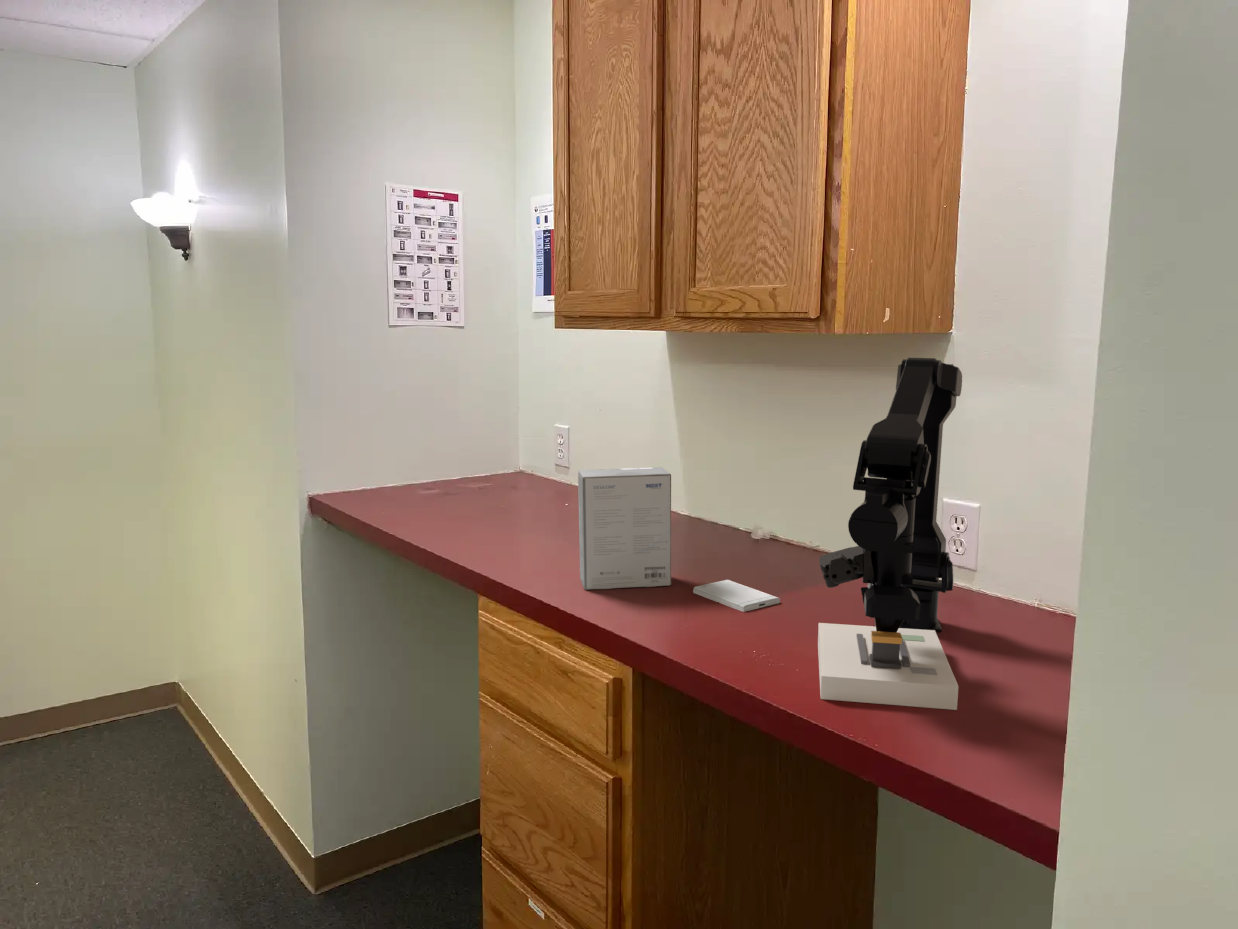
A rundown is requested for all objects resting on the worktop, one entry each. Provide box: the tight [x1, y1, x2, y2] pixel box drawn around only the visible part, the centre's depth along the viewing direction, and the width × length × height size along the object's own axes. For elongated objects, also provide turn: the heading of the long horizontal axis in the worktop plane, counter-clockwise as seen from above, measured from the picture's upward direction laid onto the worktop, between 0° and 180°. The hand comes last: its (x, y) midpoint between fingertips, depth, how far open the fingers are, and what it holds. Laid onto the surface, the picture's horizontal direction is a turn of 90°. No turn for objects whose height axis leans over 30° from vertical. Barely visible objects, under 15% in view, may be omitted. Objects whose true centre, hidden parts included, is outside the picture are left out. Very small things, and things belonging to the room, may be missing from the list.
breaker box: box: [817, 622, 959, 711], centre depth 121 cm, size 20×16×4 cm
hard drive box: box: [577, 466, 672, 591], centre depth 161 cm, size 16×8×20 cm, turn 99°
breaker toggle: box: [870, 631, 902, 669], centre depth 117 cm, size 3×4×4 cm
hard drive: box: [692, 579, 781, 613], centre depth 154 cm, size 2×8×12 cm
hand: (883, 648), depth 119 cm, fingers closed
